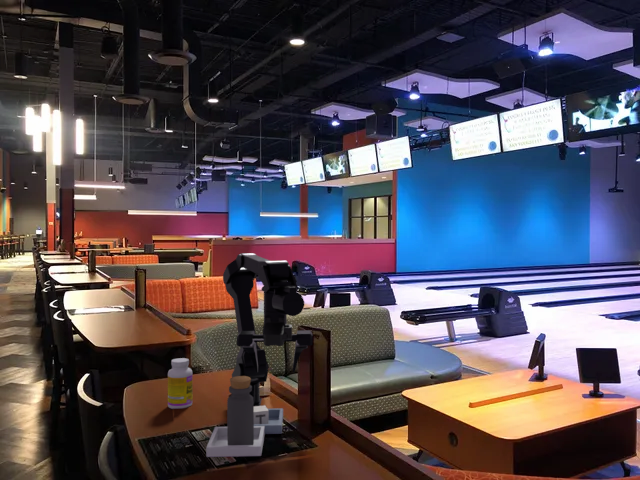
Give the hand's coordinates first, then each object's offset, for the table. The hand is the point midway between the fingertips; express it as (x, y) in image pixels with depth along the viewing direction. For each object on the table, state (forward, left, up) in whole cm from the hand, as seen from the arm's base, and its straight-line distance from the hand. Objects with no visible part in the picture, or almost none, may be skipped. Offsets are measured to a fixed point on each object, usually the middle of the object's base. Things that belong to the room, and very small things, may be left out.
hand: (275, 372), depth 131 cm
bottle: (+14, -7, -13) cm, 20 cm away
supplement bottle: (-14, -27, -13) cm, 33 cm away
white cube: (+2, -4, -12) cm, 13 cm away
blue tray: (+2, -4, -13) cm, 14 cm away
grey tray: (+14, -8, -13) cm, 21 cm away
